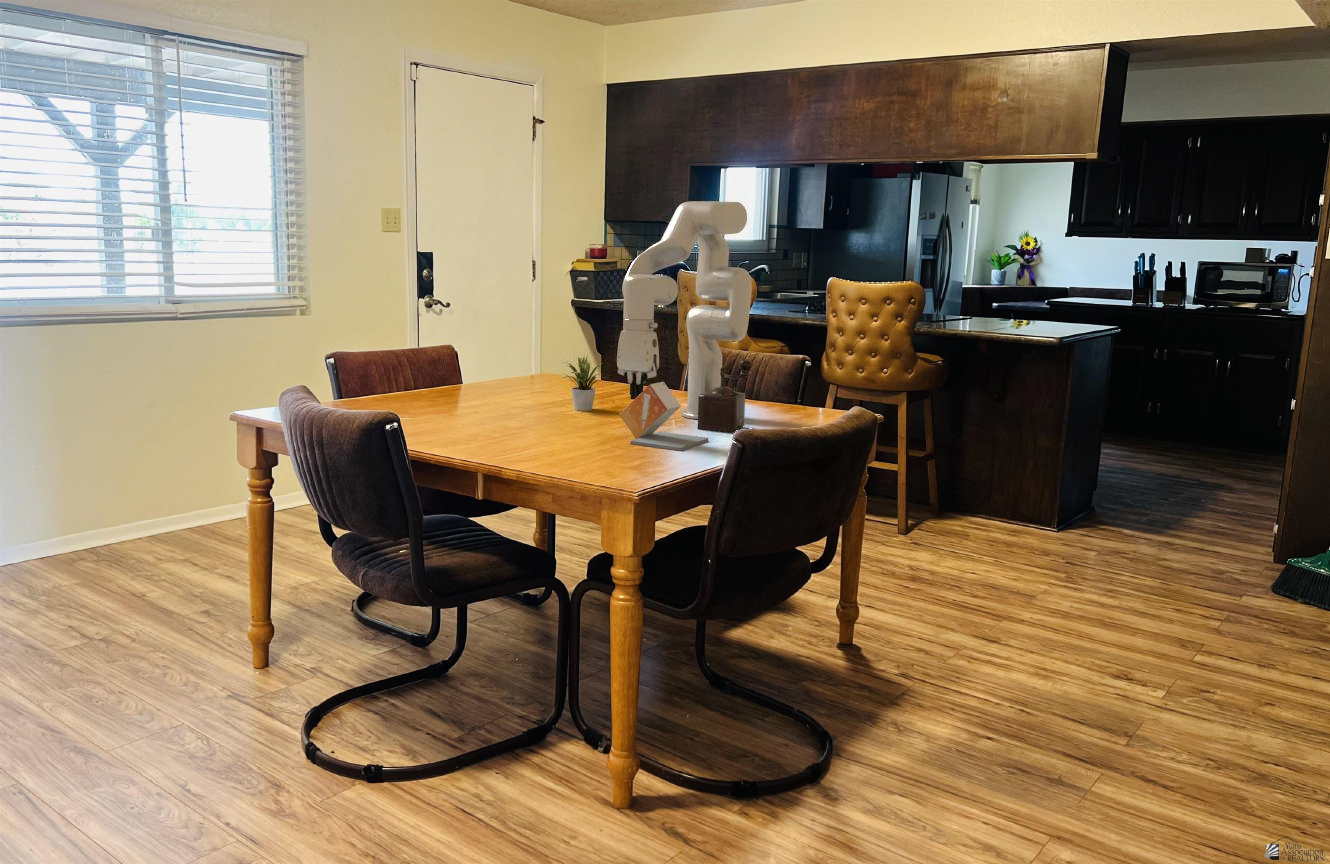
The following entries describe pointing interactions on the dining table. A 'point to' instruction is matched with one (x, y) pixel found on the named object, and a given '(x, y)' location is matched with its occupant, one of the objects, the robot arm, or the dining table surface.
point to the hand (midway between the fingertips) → (636, 398)
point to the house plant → (583, 385)
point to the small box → (650, 410)
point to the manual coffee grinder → (723, 404)
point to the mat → (669, 441)
